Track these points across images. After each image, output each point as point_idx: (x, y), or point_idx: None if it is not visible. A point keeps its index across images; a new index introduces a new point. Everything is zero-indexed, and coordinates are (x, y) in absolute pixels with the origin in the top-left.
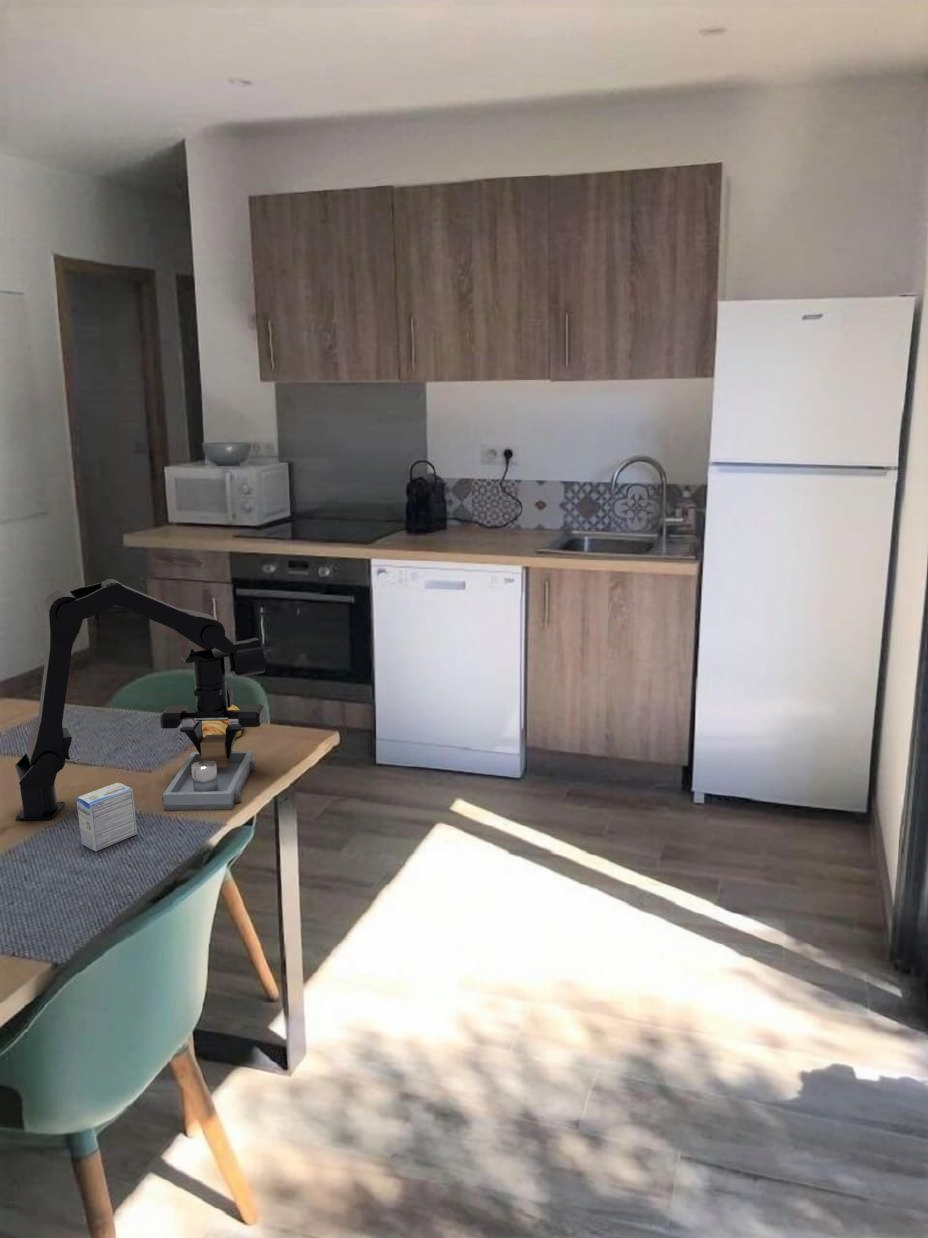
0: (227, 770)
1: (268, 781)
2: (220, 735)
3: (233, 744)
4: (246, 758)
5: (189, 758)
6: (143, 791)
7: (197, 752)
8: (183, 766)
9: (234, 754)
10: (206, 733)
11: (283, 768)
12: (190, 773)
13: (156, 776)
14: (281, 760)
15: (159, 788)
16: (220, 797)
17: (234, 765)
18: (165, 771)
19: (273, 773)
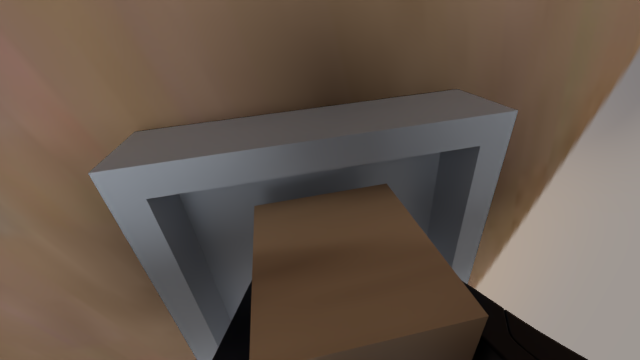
0: None
1: (503, 225)
2: (407, 351)
3: (471, 292)
4: (477, 214)
5: (153, 262)
6: (100, 353)
7: (141, 175)
8: (190, 334)
9: (404, 153)
10: None
11: (575, 113)
12: (211, 268)
13: (27, 259)
14: (592, 10)
15: (142, 328)
16: None
17: (385, 166)
18: (19, 207)
19: (528, 164)
